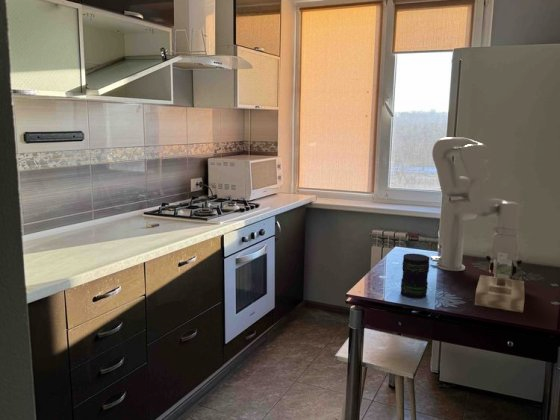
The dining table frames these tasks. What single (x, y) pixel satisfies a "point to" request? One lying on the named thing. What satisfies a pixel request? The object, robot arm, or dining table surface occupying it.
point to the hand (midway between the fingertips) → (502, 273)
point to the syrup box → (502, 266)
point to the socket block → (500, 293)
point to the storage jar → (415, 276)
